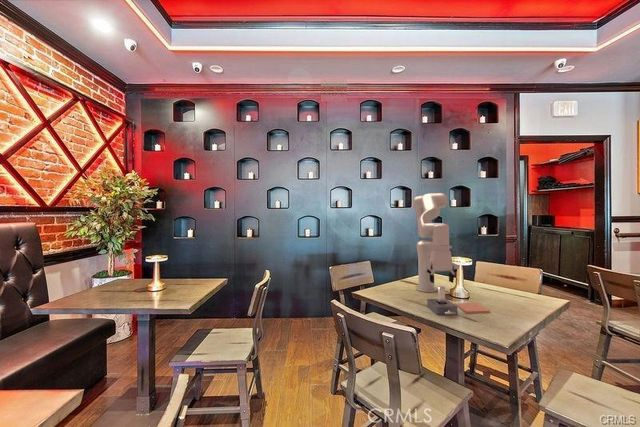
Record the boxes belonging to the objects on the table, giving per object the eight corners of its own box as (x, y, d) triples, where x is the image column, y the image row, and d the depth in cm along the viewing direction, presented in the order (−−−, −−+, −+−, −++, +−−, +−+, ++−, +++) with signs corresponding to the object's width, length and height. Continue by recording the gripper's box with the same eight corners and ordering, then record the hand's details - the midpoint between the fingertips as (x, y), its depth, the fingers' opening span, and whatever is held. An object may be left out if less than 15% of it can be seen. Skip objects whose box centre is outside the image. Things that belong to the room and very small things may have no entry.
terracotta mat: (454, 305, 153) (454, 303, 153) (476, 304, 153) (476, 302, 153) (466, 313, 141) (466, 311, 141) (490, 312, 141) (490, 310, 141)
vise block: (427, 306, 152) (427, 299, 152) (445, 306, 152) (445, 298, 152) (440, 317, 136) (440, 309, 136) (461, 317, 136) (461, 309, 136)
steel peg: (437, 309, 147) (436, 286, 147) (443, 309, 148) (443, 286, 147) (440, 311, 144) (439, 287, 144) (446, 311, 144) (446, 287, 144)
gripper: (454, 247, 149) (454, 280, 149) (421, 247, 149) (421, 280, 149) (461, 248, 142) (462, 283, 141) (427, 249, 141) (427, 284, 141)
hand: (441, 282), depth 145 cm, fingers open, 9 cm apart
